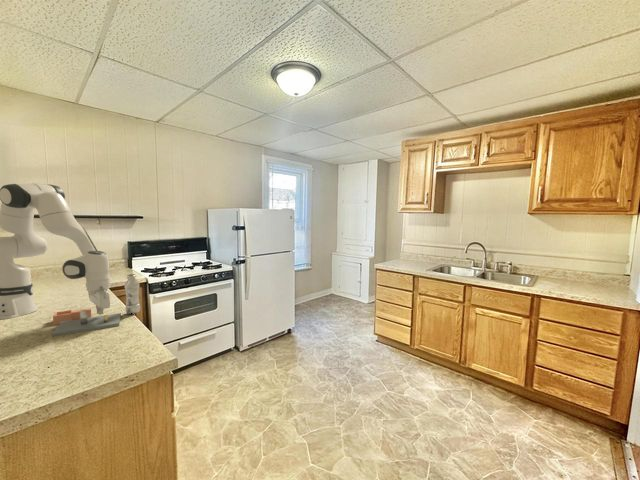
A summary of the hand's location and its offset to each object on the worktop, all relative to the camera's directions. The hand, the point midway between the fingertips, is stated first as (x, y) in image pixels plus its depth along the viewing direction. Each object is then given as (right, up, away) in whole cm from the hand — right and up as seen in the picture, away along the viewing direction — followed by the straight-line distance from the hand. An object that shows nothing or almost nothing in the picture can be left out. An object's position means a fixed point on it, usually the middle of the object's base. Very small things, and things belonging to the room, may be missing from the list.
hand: (100, 313), depth 130 cm
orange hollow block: (-13, -3, +1) cm, 14 cm away
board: (0, -4, -6) cm, 7 cm away
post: (+3, -2, -7) cm, 7 cm away
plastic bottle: (+9, -3, +11) cm, 14 cm away
